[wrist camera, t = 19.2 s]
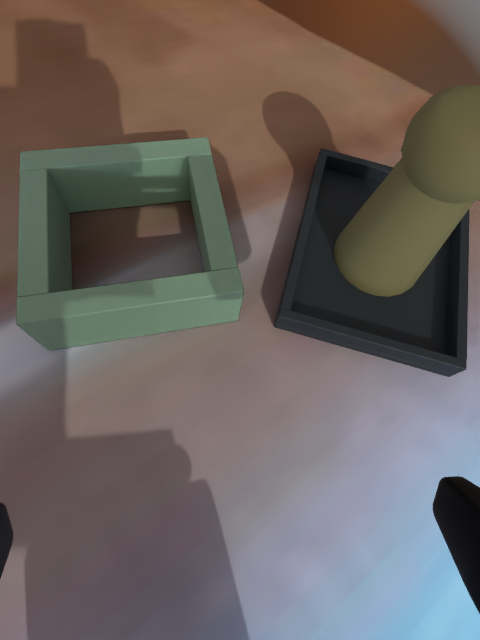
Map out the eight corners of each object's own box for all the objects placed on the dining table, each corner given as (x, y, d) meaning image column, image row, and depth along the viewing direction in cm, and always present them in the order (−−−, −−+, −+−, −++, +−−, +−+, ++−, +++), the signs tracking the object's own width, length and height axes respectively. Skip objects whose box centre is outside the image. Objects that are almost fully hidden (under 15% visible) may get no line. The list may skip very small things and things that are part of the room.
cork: (326, 222, 26) (402, 60, 16) (406, 219, 27) (528, 63, 17) (344, 299, 24) (446, 166, 14) (431, 294, 24) (590, 164, 14)
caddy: (238, 321, 23) (244, 291, 19) (48, 351, 21) (15, 324, 18) (207, 182, 27) (207, 136, 24) (46, 198, 25) (19, 151, 22)
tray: (449, 377, 23) (466, 369, 21) (273, 327, 23) (278, 316, 22) (455, 203, 28) (470, 187, 27) (314, 165, 29) (321, 147, 27)
